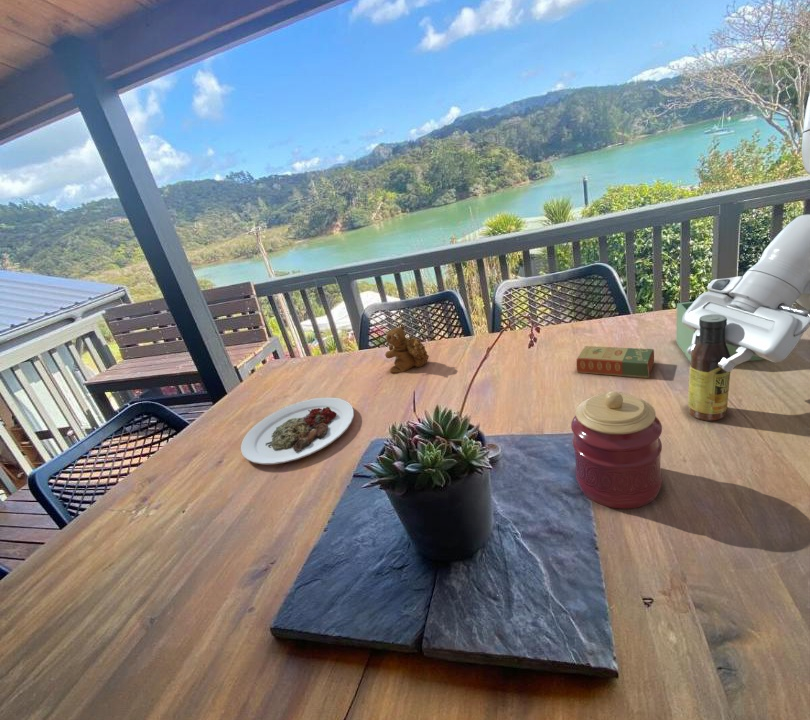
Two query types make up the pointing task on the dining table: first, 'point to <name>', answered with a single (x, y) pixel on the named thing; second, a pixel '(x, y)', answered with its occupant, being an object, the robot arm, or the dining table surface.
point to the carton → (616, 361)
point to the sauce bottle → (709, 371)
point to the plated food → (297, 430)
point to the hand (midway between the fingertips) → (706, 361)
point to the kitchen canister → (617, 450)
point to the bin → (686, 334)
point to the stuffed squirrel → (405, 351)
